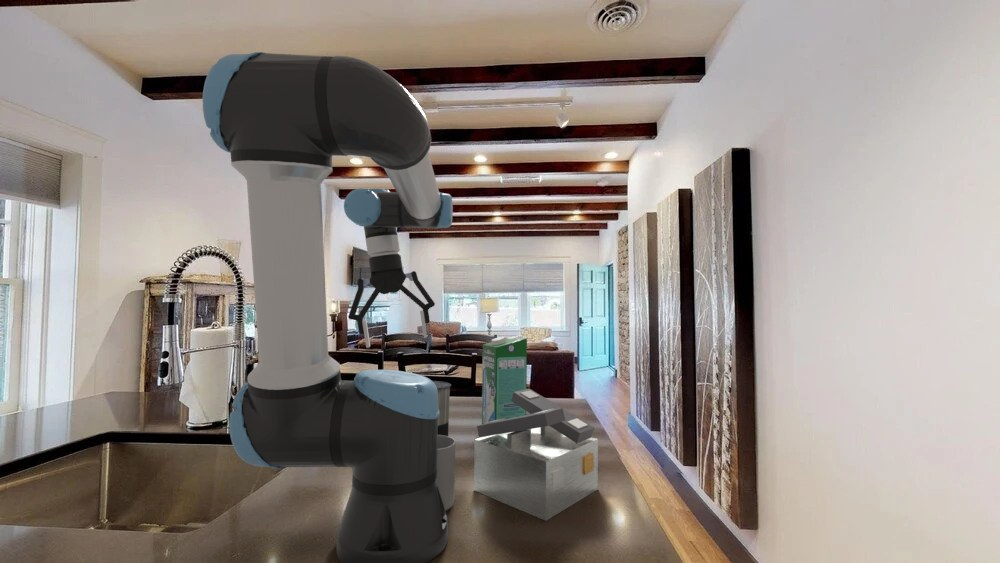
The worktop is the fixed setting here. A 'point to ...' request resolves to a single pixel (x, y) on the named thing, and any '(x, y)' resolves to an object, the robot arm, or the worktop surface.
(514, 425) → the rocker
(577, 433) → the rocker
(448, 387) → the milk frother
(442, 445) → the cup
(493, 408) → the milk carton
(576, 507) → the worktop surface
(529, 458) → the silver metal box
